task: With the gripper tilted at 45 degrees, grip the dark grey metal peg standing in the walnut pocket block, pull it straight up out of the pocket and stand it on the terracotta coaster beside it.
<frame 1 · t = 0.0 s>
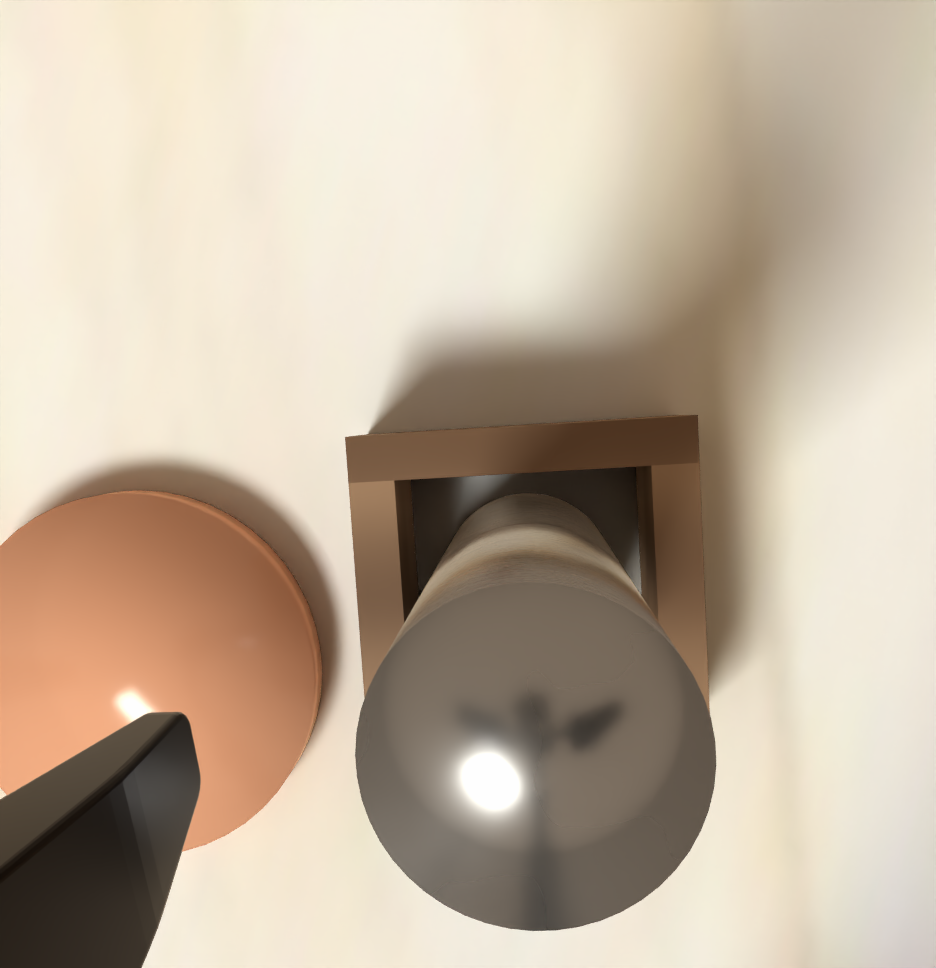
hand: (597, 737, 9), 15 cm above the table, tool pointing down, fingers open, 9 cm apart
pocket block: (528, 577, 24), on the table
peg: (529, 635, 18), in the pocket block
coaster: (146, 667, 25), on the table
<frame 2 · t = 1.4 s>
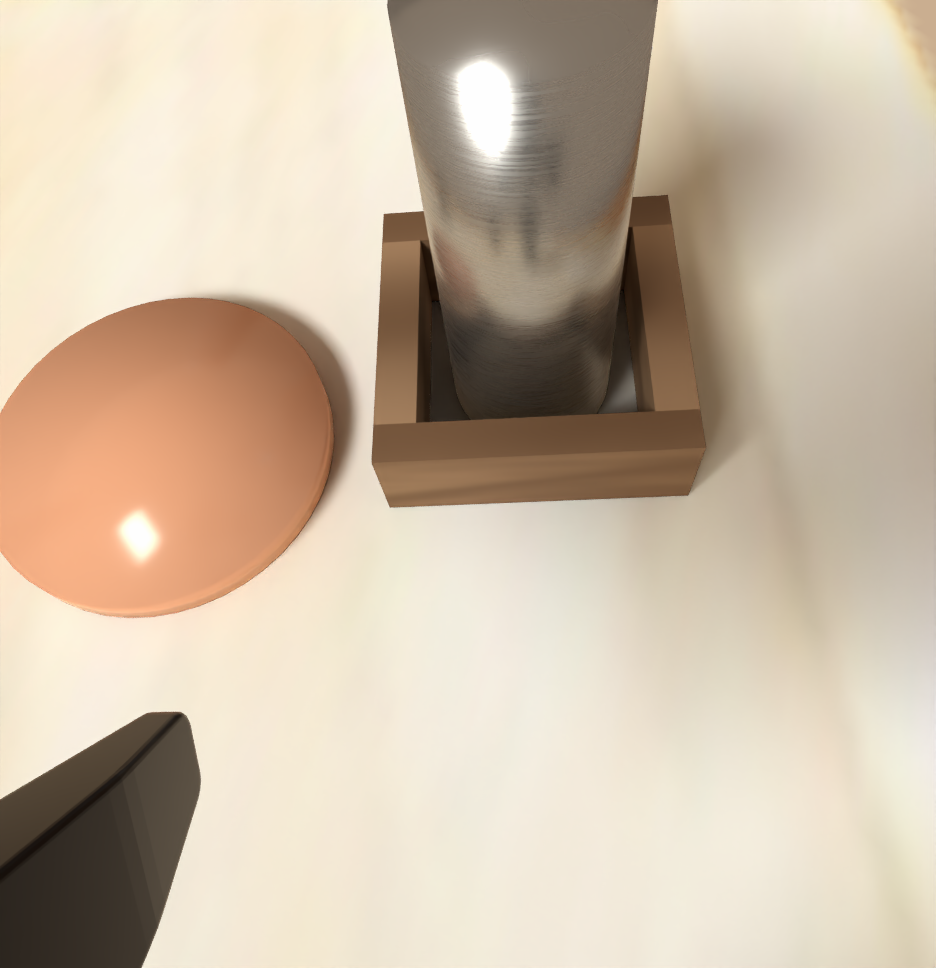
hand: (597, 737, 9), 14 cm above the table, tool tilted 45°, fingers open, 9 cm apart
pocket block: (531, 376, 27), on the table
peg: (527, 236, 21), in the pocket block
coaster: (167, 453, 27), on the table
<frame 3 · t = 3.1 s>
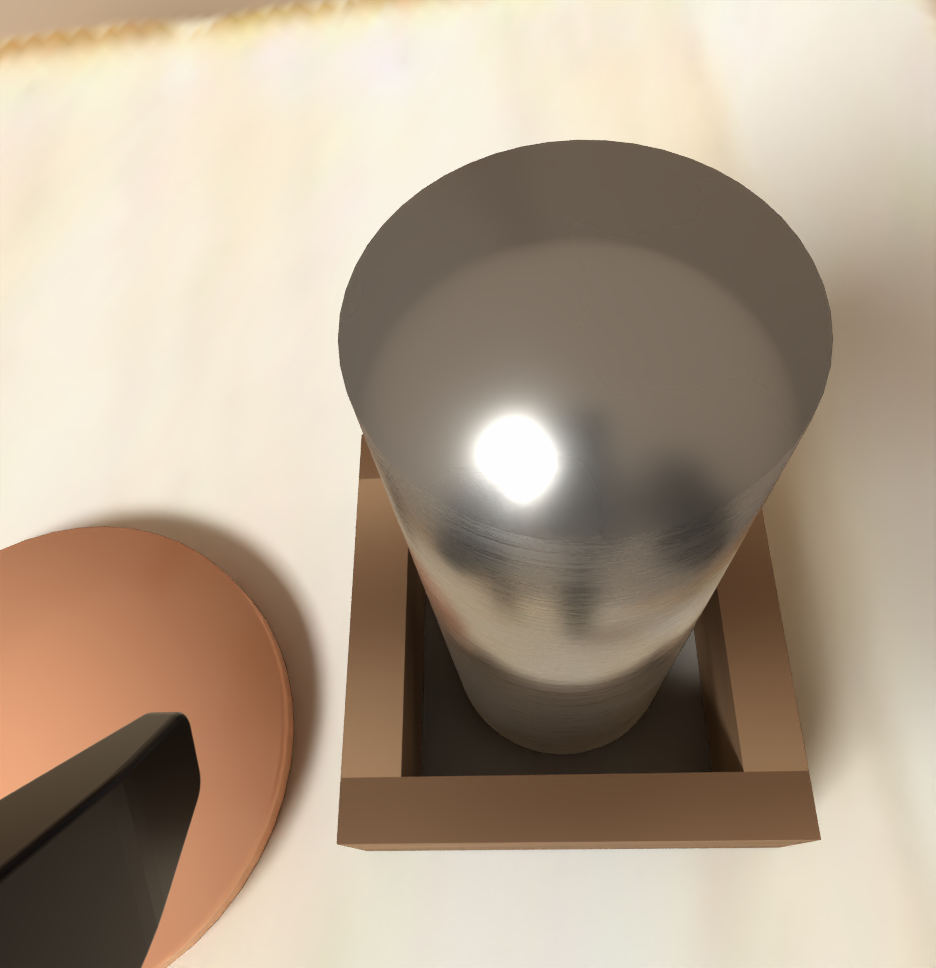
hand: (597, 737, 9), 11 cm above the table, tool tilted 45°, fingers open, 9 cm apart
pocket block: (558, 647, 20), on the table
peg: (564, 548, 14), in the pocket block
coaster: (70, 751, 20), on the table
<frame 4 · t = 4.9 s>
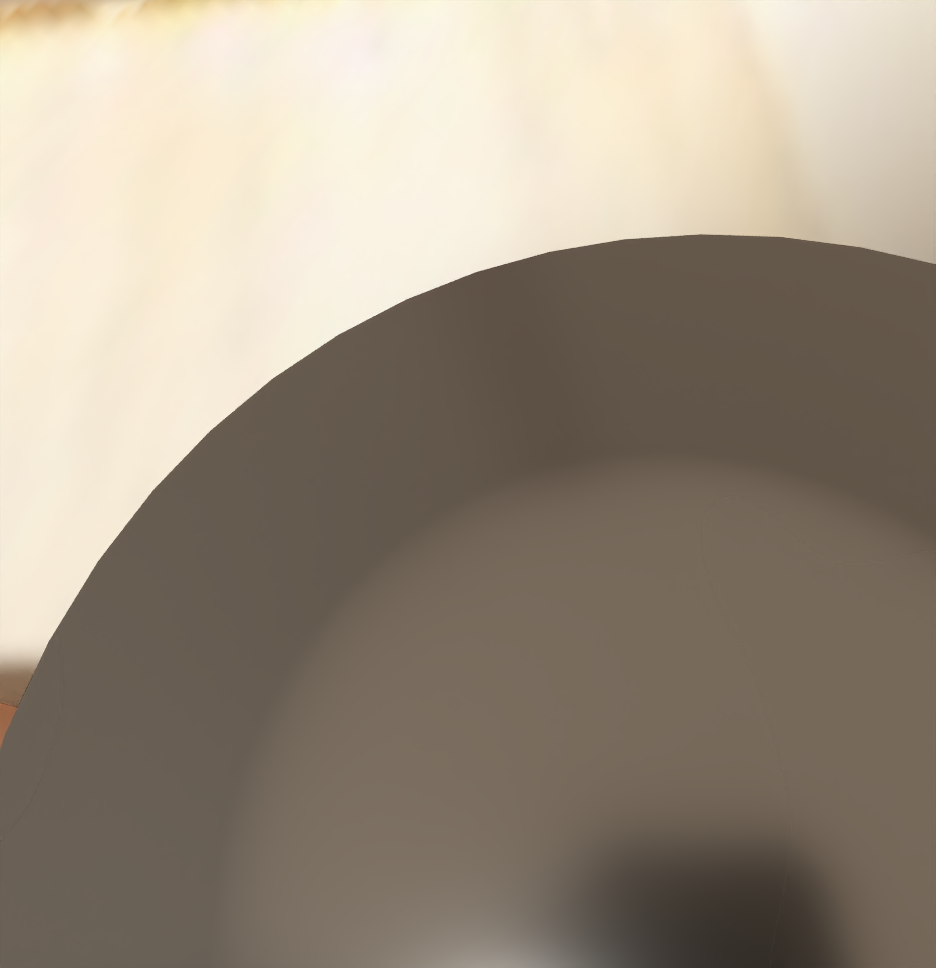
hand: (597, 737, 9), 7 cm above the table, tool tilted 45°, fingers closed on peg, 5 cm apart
peg: (607, 882, 8), in the pocket block, touching gripper
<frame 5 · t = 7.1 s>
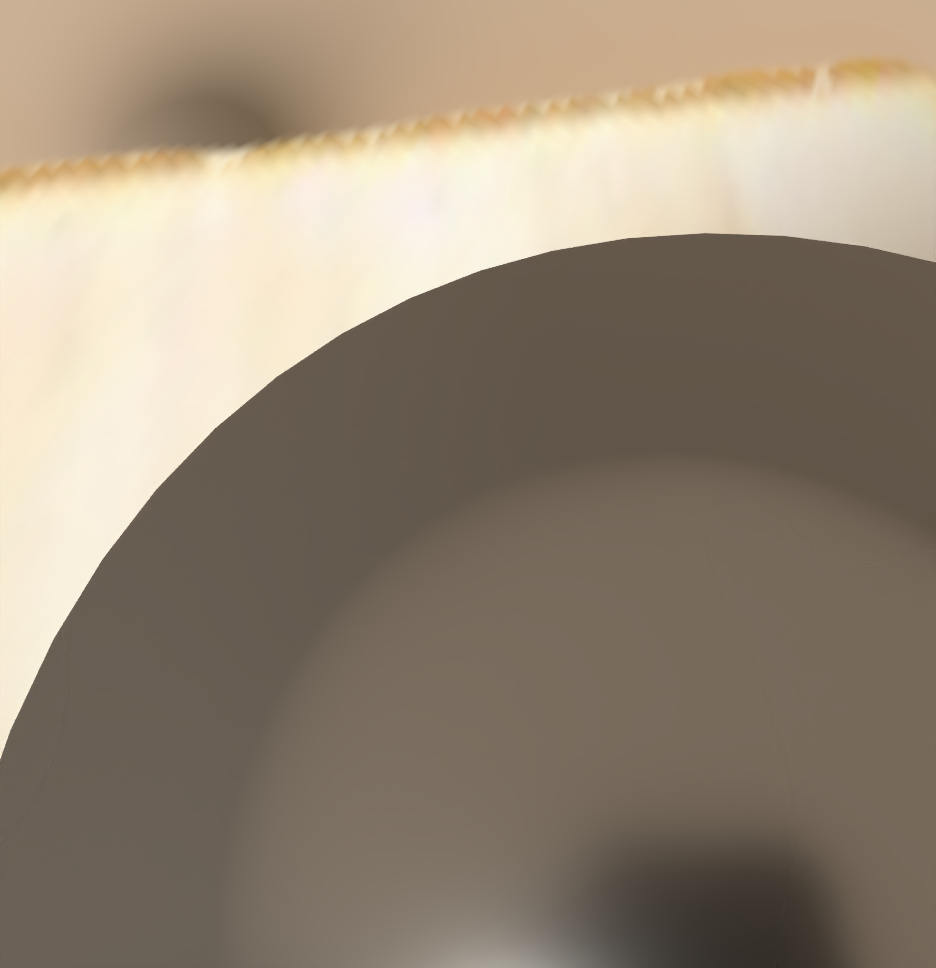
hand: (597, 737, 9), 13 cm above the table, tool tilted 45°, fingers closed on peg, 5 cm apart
peg: (608, 881, 8), point 13 cm above the table, touching gripper
when the fingers open (8 cm above the table, at t = 9.5 s): peg stays where it is, resting on coaster.
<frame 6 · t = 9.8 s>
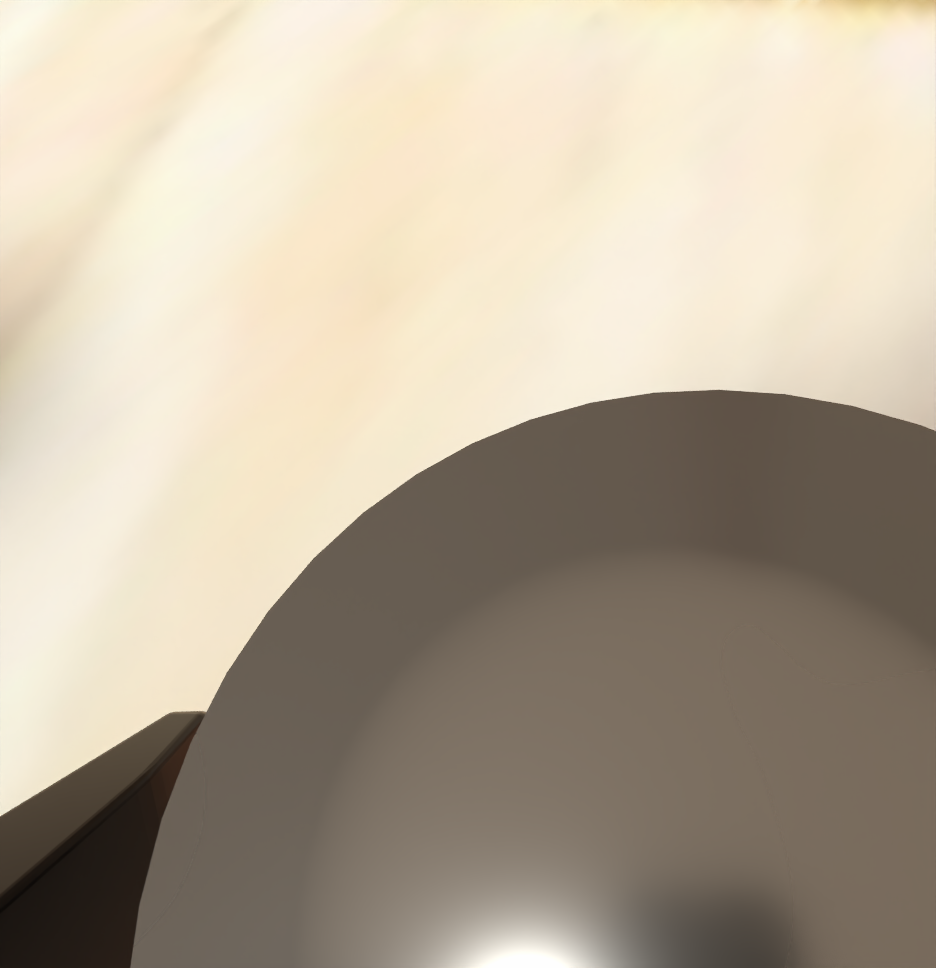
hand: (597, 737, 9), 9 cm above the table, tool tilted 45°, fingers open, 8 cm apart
peg: (612, 900, 9), on the coaster, point 8 cm above the table
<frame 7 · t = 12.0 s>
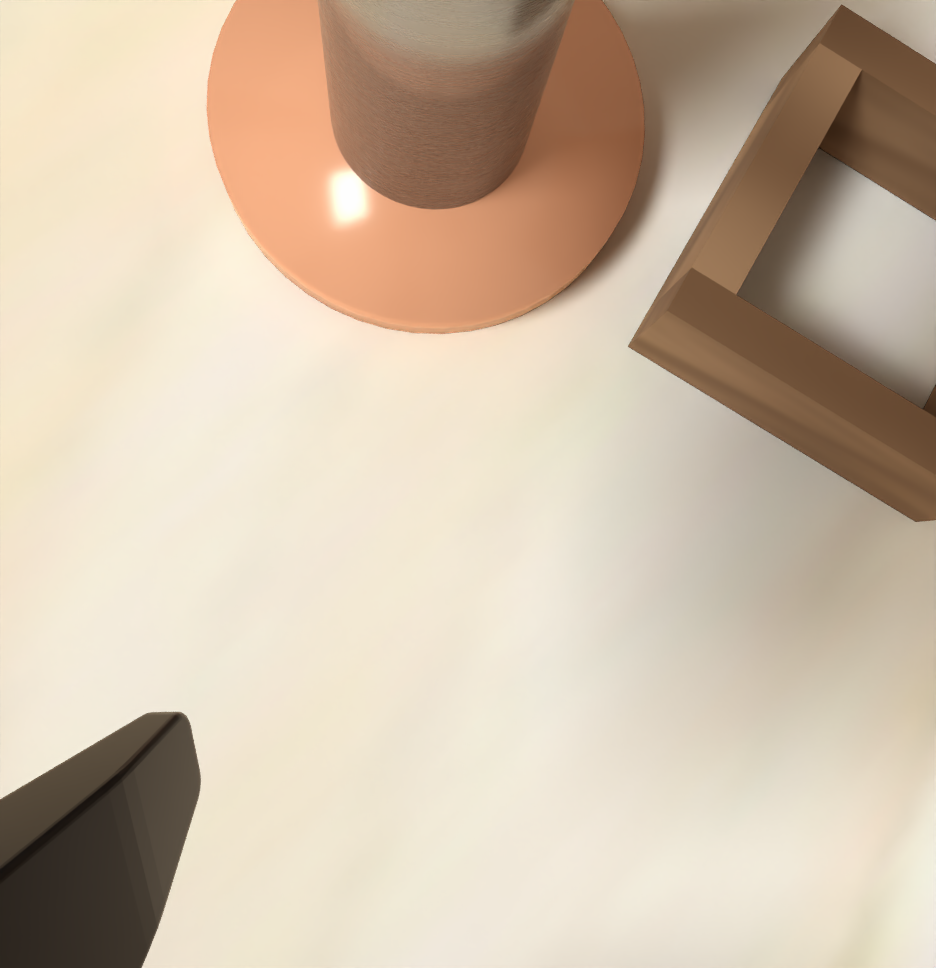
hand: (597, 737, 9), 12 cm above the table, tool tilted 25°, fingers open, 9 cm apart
pocket block: (847, 295, 22), on the table
coaster: (429, 129, 22), on the table
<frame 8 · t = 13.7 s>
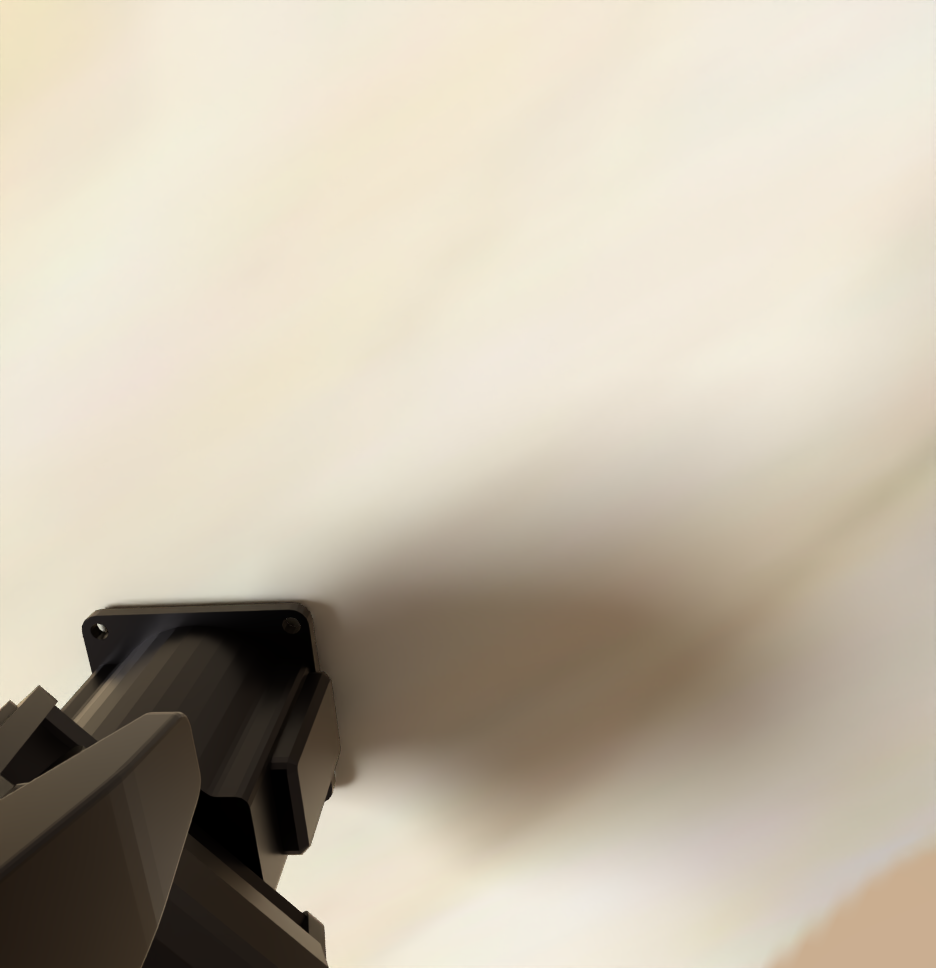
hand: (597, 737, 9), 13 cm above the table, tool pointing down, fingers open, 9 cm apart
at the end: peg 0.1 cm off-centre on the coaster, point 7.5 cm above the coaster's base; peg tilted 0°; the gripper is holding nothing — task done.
